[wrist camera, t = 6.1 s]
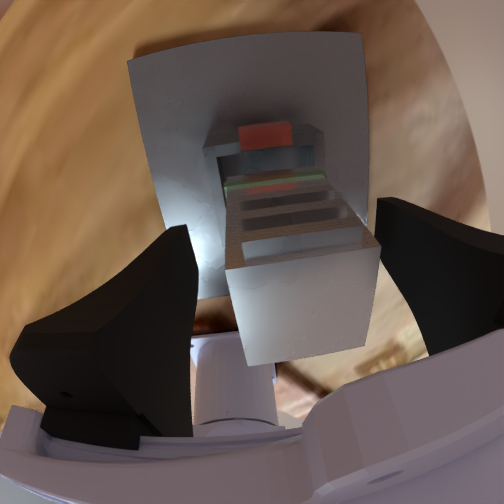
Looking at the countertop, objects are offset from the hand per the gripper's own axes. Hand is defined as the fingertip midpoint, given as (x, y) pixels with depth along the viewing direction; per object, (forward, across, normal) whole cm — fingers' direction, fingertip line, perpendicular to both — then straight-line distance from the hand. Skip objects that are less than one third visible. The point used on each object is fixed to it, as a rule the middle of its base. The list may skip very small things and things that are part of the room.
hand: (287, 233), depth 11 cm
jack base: (+10, 0, +1) cm, 10 cm away
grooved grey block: (+3, 0, +1) cm, 3 cm away
